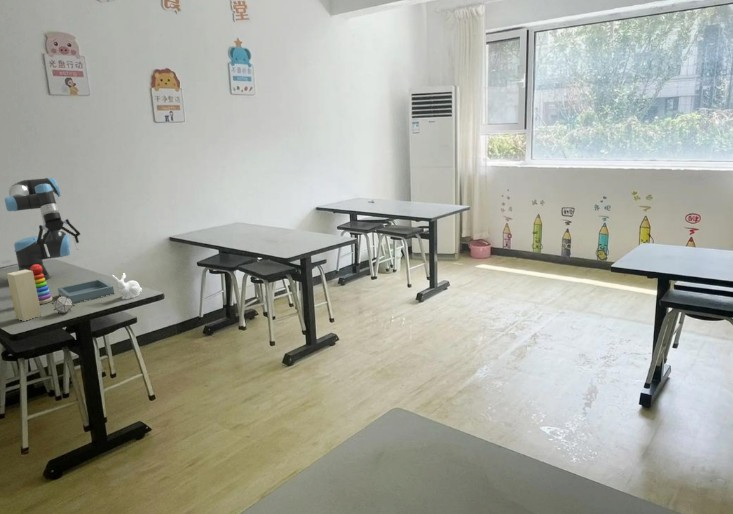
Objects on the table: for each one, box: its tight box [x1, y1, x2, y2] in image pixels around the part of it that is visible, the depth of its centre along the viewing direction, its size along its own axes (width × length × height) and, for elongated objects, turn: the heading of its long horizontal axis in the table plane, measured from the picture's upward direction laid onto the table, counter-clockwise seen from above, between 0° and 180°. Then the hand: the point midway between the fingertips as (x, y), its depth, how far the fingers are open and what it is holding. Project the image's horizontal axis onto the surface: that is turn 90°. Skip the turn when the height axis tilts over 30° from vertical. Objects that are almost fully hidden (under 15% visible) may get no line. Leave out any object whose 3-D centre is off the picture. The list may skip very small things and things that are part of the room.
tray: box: [57, 278, 115, 305], centre depth 270 cm, size 20×20×4 cm
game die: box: [51, 295, 76, 315], centre depth 244 cm, size 9×8×10 cm
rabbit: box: [111, 272, 143, 300], centre depth 263 cm, size 12×9×12 cm
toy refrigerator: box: [6, 270, 42, 322], centre depth 239 cm, size 8×7×21 cm
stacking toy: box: [30, 264, 53, 305], centre depth 260 cm, size 8×8×19 cm
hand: (63, 253), depth 282 cm, fingers open, 13 cm apart
